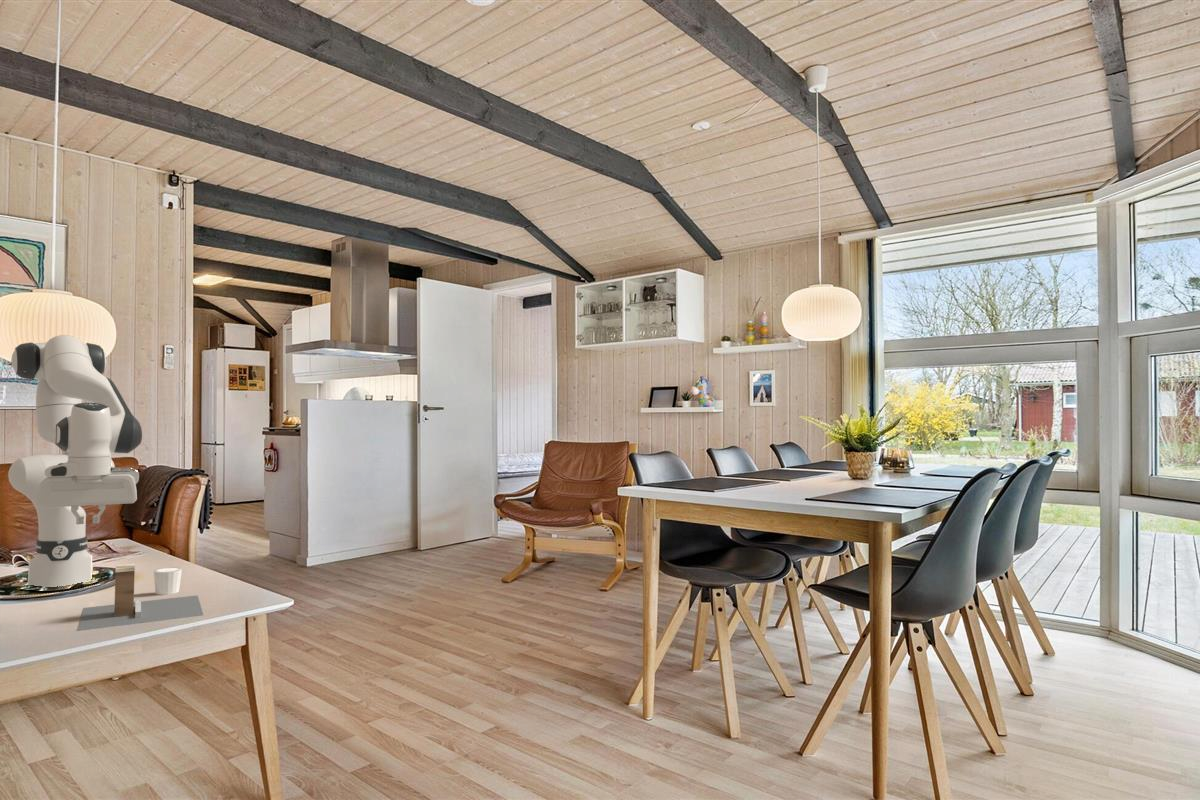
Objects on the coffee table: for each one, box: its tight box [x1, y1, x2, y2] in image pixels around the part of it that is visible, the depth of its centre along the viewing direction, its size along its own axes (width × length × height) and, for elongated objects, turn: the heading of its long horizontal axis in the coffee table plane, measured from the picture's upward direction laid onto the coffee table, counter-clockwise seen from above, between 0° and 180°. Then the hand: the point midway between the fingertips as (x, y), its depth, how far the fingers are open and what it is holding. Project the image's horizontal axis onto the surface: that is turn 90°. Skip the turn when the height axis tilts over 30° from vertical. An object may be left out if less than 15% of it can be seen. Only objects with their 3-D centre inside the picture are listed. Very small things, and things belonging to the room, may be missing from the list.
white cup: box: [153, 567, 183, 596], centre depth 202 cm, size 7×7×7 cm
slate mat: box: [76, 594, 204, 632], centre depth 183 cm, size 22×26×2 cm
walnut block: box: [114, 563, 136, 617], centre depth 181 cm, size 5×4×12 cm
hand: (88, 523), depth 177 cm, fingers closed
